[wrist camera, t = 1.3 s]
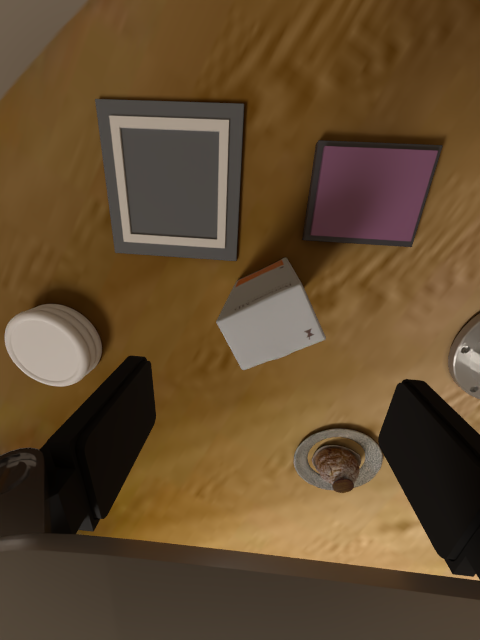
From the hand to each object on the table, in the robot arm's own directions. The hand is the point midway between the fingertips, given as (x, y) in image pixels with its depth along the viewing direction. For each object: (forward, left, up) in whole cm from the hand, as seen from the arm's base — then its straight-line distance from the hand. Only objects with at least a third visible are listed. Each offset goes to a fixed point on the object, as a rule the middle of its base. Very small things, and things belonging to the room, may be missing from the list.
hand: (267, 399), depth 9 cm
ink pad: (-8, -9, -19) cm, 22 cm away
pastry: (-12, +24, -19) cm, 33 cm away
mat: (+10, -9, -19) cm, 23 cm away
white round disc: (+25, +9, -19) cm, 32 cm away
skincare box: (0, 0, -19) cm, 19 cm away
